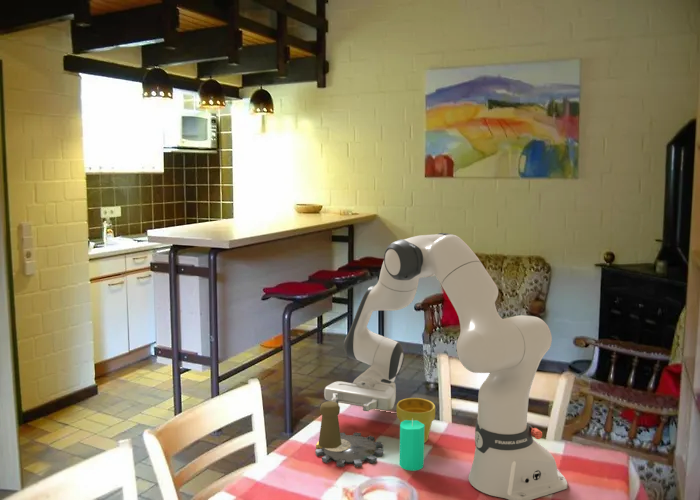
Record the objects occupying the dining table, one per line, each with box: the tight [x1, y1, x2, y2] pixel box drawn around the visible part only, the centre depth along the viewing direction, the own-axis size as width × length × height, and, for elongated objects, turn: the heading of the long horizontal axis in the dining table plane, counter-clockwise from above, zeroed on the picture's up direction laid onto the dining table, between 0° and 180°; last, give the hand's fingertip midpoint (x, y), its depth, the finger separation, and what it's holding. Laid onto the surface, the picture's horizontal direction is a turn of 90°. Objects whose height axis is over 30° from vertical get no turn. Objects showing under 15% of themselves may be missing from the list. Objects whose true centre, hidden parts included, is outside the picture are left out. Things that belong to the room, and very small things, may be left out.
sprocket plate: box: [314, 432, 384, 468], centre depth 156 cm, size 18×18×1 cm
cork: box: [318, 400, 341, 448], centre depth 157 cm, size 6×6×11 cm
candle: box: [398, 418, 425, 472], centre depth 148 cm, size 6×6×12 cm
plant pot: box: [395, 397, 436, 444], centre depth 162 cm, size 10×10×10 cm
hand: (349, 405), depth 163 cm, fingers open, 8 cm apart
